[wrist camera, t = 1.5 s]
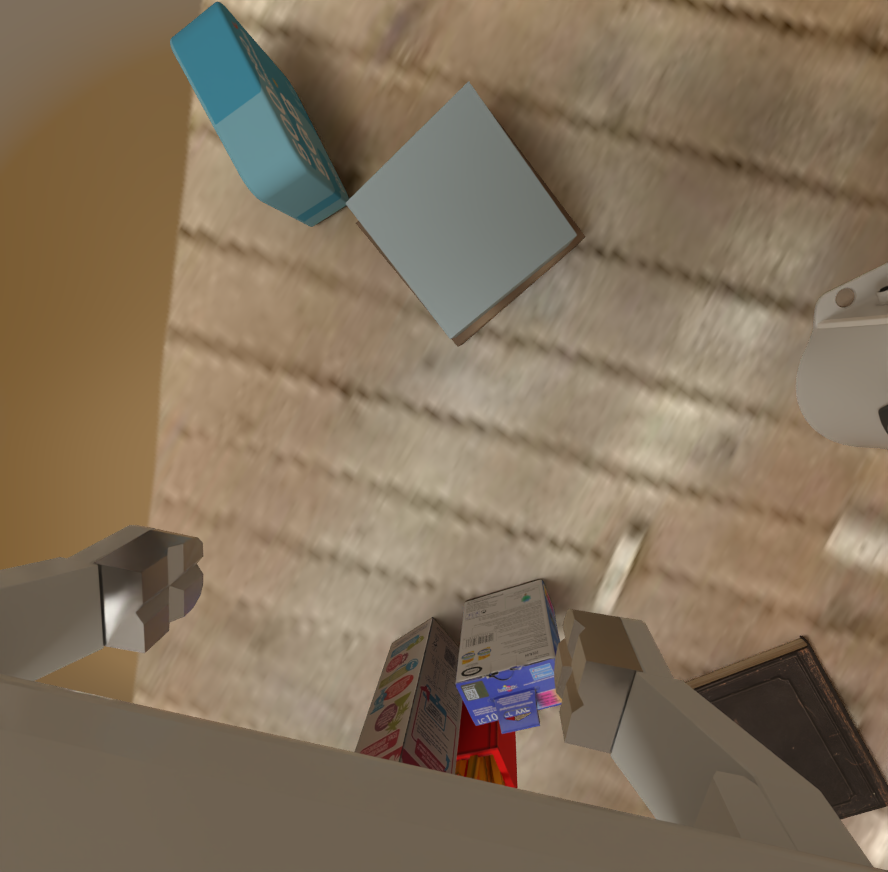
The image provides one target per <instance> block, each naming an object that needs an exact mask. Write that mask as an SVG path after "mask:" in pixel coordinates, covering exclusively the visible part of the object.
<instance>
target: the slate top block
mask: <svg viewBox="0 0 888 872" xmlns="http://www.w3.org/2000/svg"><path fill="white" fill-rule="evenodd" d="M346 205H347V206H348V207H349V209H350V210H351V211H352V212H353V214H354V215H355V216H356V218H357V219H358V220H359V222H360V223H361V224H362V225H363V227H364V228H365V229H366V231H367V232H368V233H369V235H370V236H371V237H372V238H373V240H374V241H375V242H376V244H377V245H378V246H379V247H380V249H381V250H382V251H383V253H384V254H385V255H386V257H387V258H388V259H389V260H390V262H391V263H392V264H393V266H394V267H395V268H396V269H397V271H398V272H399V273H400V275H401V276H402V277H403V279H404V280H405V281H406V282H407V284H408V285H409V286H410V288H411V289H412V290H413V291H414V293H415V294H416V295H417V297H418V298H419V299H420V301H421V302H422V303H423V304H424V306H425V307H426V308H427V310H428V311H429V312H430V314H431V315H432V316H433V317H434V319H435V320H436V321H437V323H438V324H439V325H440V326H441V328H442V329H443V330H444V332H445V333H446V334H447V336H448V337H449V338H450V339H452V338H456V337H457V336H458V335H460V334H461V333H462V332H463V331H464V330H466V329H467V328H468V327H469V326H471V325H472V324H473V323H474V322H476V321H477V320H478V319H479V318H480V317H482V316H483V315H484V314H485V313H487V312H488V311H489V310H490V309H491V308H493V307H494V306H495V305H496V304H498V303H499V302H500V301H501V300H502V299H504V298H505V297H506V296H507V295H509V294H510V293H511V292H512V291H514V290H515V289H516V288H517V287H518V286H520V285H521V284H522V283H523V282H525V281H526V280H527V279H528V278H529V277H531V276H532V275H533V274H534V273H536V272H537V271H538V270H539V269H540V268H542V267H543V266H544V265H545V264H547V263H548V262H549V261H550V260H552V259H553V258H554V257H555V256H556V255H558V254H559V253H560V252H561V251H563V250H564V249H565V248H566V247H567V246H568V245H569V244H570V243H571V242H572V241H573V239H574V238H575V237H576V236H577V234H576V233H575V231H574V230H573V228H572V227H571V226H570V224H569V223H568V221H567V220H566V218H565V217H564V216H563V214H562V213H561V211H560V210H559V209H558V207H557V206H556V204H555V203H554V201H553V200H552V199H551V197H550V196H549V194H548V193H547V192H546V190H545V189H544V187H543V186H542V184H541V183H540V182H539V180H538V179H537V177H536V176H535V174H534V173H533V172H532V170H531V169H530V167H529V166H528V165H527V163H526V162H525V160H524V159H523V157H522V156H521V155H520V153H519V152H518V150H517V149H516V148H515V146H514V145H513V143H512V142H511V140H510V139H509V138H508V136H507V135H506V133H505V132H504V131H503V129H502V128H501V126H500V125H499V123H498V122H497V121H496V119H495V118H494V116H493V115H492V114H491V112H490V111H489V109H488V108H487V106H486V105H485V104H484V102H483V101H482V99H481V98H480V97H479V95H478V94H477V92H476V91H475V89H474V88H473V87H472V85H471V84H470V82H469V81H468V82H467V83H466V84H465V85H464V86H463V87H462V88H461V89H460V90H459V91H458V92H457V93H456V94H455V95H454V96H453V97H452V98H451V99H450V100H449V101H448V102H447V103H446V104H445V105H444V106H443V107H442V108H441V109H440V110H439V111H438V112H437V113H436V114H435V115H434V116H433V117H432V118H431V119H430V120H429V121H428V122H427V123H426V124H425V125H424V126H423V127H422V128H421V129H420V130H419V131H418V132H417V133H416V134H415V135H414V136H413V137H412V138H411V139H410V140H409V141H408V142H407V143H406V144H405V145H404V146H403V147H402V148H401V149H400V150H399V151H398V152H397V153H396V154H395V155H394V156H393V157H392V158H391V159H390V160H389V161H388V162H387V163H385V164H384V165H383V166H382V167H381V168H380V169H379V170H378V171H377V172H376V173H375V174H374V175H373V176H372V177H371V178H370V179H369V180H368V181H367V182H366V183H365V184H364V185H363V186H362V187H361V188H360V189H359V190H358V191H357V192H356V193H355V194H354V195H353V196H352V197H351V198H350V199H349V200H348V201H347V202H346Z"/></svg>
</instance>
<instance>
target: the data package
mask: <svg viewBox="0 0 888 872" xmlns="http://www.w3.org/2000/svg"><path fill="white" fill-rule="evenodd" d="M170 45H171V48H172V51H173V52H174V55H175V56H176V58H177V60H178V62H179V64H180V66H181V68H182V69H183V71H184V73H185V75H186V77H187V79H188V80H189V82H190V84H191V86H192V88H193V90H194V92H195V93H196V95H197V97H198V99H199V101H200V103H201V105H202V106H203V108H204V110H205V112H206V114H207V116H208V117H209V119H210V121H211V123H212V125H213V127H214V129H215V130H216V132H217V134H218V136H219V138H220V140H221V141H222V143H223V145H224V147H225V149H226V151H227V153H228V154H229V156H230V158H231V160H232V162H233V164H234V165H235V167H236V169H237V171H238V173H239V175H240V177H241V178H242V180H243V182H244V183H245V184H246V186H247V187H248V189H249V190H250V191H251V192H252V193H253V194H254V195H255V196H256V197H257V198H258V199H259V200H260V201H262V202H264V203H266V204H268V205H269V206H271V207H273V208H275V209H277V210H279V211H281V212H283V213H285V214H287V215H289V216H291V217H293V218H295V219H297V220H299V221H301V222H302V223H304V224H306V225H308V226H311V227H313V226H315V225H316V224H318V223H319V222H321V221H322V220H324V219H326V218H327V217H329V216H330V215H332V214H334V213H335V212H337V211H338V210H340V209H341V208H343V207H345V206H346V202H347V201H348V200H349V197H348V195H347V192H346V190H345V188H344V186H343V184H342V182H341V180H340V178H339V176H338V174H337V172H336V170H335V168H334V166H333V164H332V163H331V161H330V159H329V157H328V155H327V153H326V151H325V149H324V147H323V145H322V143H321V141H320V139H319V137H318V135H317V133H316V131H315V129H314V127H313V125H312V123H311V121H310V119H309V117H308V115H307V113H306V111H305V109H304V107H303V105H302V103H301V101H300V99H299V97H298V95H297V93H296V92H295V90H294V88H293V87H292V85H291V84H290V82H289V81H288V79H287V78H286V77H285V75H284V74H283V73H282V72H281V71H280V69H279V68H278V67H277V66H276V65H275V64H274V63H273V61H272V60H271V59H270V58H269V57H268V56H267V54H266V53H265V52H264V51H263V50H262V49H261V48H260V46H259V45H258V44H257V43H256V42H255V41H254V39H253V38H252V37H251V36H250V35H249V34H248V33H247V31H246V30H245V29H244V28H243V27H242V26H241V24H240V23H239V22H238V21H237V20H236V19H235V17H234V16H233V15H232V14H231V13H230V12H229V11H228V9H227V8H226V7H225V6H224V5H223V4H222V3H220V2H215V3H214V4H213V5H212V6H210V7H209V8H208V9H207V10H205V11H204V12H203V13H202V14H200V15H199V16H198V17H197V18H196V19H194V20H193V21H192V22H191V23H189V24H188V25H187V26H186V27H185V28H184V29H182V30H181V31H180V32H178V33H177V34H176V35H175V36H173V37H172V38H171V40H170Z"/></svg>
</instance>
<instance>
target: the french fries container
mask: <svg viewBox="0 0 888 872" xmlns="http://www.w3.org/2000/svg"><path fill="white" fill-rule="evenodd" d="M505 719H507V720H515V717H514V716H513V717H509V718H505ZM455 775H459V776H463V777H468V778H472V779H477V780H481V781H486V782H490V783H495V784H499V785H504V786H508V787H512V788H517V764H516V736H515V731H513V732H509V733H504V734H502V733H501V728H500V724H499V720H497V721H493V722H489V723H486V724H482V725H478V726H476V725H475V723H474V722H473V720H472V718H471V716H470V714H469V712H468V710H467V707H466V705H465V703H464V701H463V699H462V709H461V719H460V729H459V739H458V748H457V758H456V768H455Z"/></svg>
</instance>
